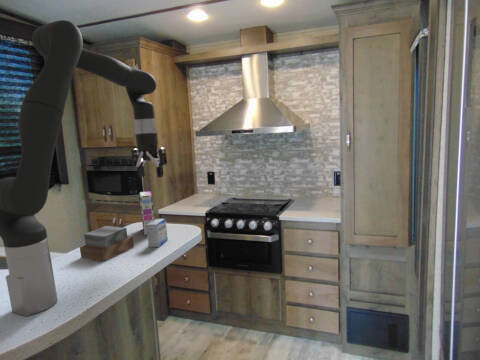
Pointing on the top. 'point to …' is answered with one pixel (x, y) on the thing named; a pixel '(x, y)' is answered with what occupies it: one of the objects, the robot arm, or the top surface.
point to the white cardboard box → (146, 209)
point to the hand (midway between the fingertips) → (151, 176)
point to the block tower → (106, 243)
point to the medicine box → (156, 232)
